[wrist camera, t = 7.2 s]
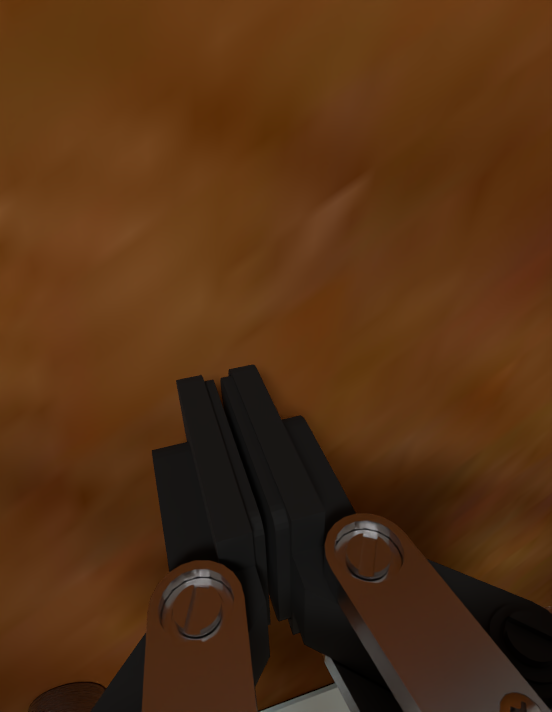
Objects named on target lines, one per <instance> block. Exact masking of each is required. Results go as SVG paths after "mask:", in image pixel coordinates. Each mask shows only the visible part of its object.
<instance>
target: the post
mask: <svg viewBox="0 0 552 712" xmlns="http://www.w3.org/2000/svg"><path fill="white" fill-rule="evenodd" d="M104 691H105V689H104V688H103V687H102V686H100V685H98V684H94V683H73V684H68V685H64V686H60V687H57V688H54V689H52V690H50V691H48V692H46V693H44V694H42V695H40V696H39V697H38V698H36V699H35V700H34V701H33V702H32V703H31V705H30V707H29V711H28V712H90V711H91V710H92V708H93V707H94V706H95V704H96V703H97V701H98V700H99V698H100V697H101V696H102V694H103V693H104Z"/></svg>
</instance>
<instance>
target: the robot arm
mask: <svg viewBox="0 0 552 712" xmlns="http://www.w3.org/2000/svg"><path fill="white" fill-rule="evenodd" d="M220 381H221V390H222V399H223V406H222V403H221V400H220V397H219V394H218V392H217V389H216V386H215V383H214V380H209V381H204V379H203V377H202V375H199V376H194V377H190V378H185V379H180V380H176V383H177V389H178V394H179V400H180V405H181V411H182V416H183V422H184V427H185V433H186V438H187V442H185V443H181V444H177V445H173V446H168V447H164V448H160V449H156V450H152V456H153V463H154V470H155V477H156V484H157V491H158V497H159V504H160V511H161V518H162V524H163V531H164V538H165V545H166V552H167V558H168V565H169V573H168V574H167V575H166V576H165V577H164V578H163V579H162V580H161V581H160V582H159V583H158V585H157V587H156V588H155V590H154V592H153V594H152V596H151V598H150V603H149V607H148V612H147V629H146V633H145V635H144V636H143V638H142V639H141V640H140V642H139V643H138V645H137V646H136V647H135V649H134V650H133V652H132V653H131V655H130V656H129V657H128V659H127V660H126V662H125V663H124V664H123V666H122V667H121V669H120V670H119V672H118V673H117V674H116V676H115V677H114V679H113V680H112V681H111V683H110V684H109V686H108V687H107V689H106V690H105V691H104V693H103V694H102V696H101V697H100V698H99V700H98V701H97V703H96V704H95V706H94V707H93V708H92V710H91V711H90V712H258V710H257V701H256V692H255V686H256V684H257V682H258V680H259V678H260V676H261V673H262V671H263V669H264V667H265V665H266V663H267V661H268V659H269V657H270V650H269V635H268V625H270V608H269V595H270V598H271V601H272V604H273V608H274V611H275V614H276V617H277V619H278V621H282V620H285V619H288V621H289V624H290V627H291V630H292V633H293V635H294V634H297V633H301V636H302V639H303V642H304V644H305V645H307V646H309V647H310V648H312V649H314V650H316V651H318V652H320V653H321V654H322V657H323V660H324V662H325V665H326V666H327V668H328V670H329V672H330V674H331V676H332V678H333V680H334V682H335V683H336V685H337V687H338V689H339V691H340V693H341V695H342V697H343V699H344V700H345V702H346V704H347V706H348V708H349V710H350V712H552V607H541V606H539V605H537V604H535V603H534V602H532V601H529V600H527V599H524V598H522V597H519V596H517V595H514V594H512V593H509V592H507V591H505V590H502V589H500V588H497V587H495V586H492V585H490V584H487V583H485V582H482V581H480V580H477V579H475V578H472V577H470V576H467V575H465V574H463V573H460V572H458V571H455V570H453V569H450V568H448V567H445V566H443V565H440V564H438V563H435V562H433V561H430V560H428V559H426V558H425V557H424V556H423V554H422V553H421V552H420V551H419V550H418V548H417V547H416V546H415V545H414V543H413V542H412V541H411V540H410V539H409V537H408V536H407V535H406V534H405V532H404V531H402V530H401V529H400V528H399V527H398V526H397V525H396V524H395V523H393V522H391V521H390V520H388V519H386V518H384V517H382V516H378V515H374V514H370V513H357V514H356V513H355V511H354V509H353V507H352V505H351V503H350V502H349V500H348V498H347V496H346V494H345V492H344V490H343V489H342V487H341V485H340V483H339V481H338V479H337V478H336V476H335V474H334V472H333V470H332V468H331V466H330V465H329V463H328V461H327V459H326V457H325V455H324V453H323V452H322V450H321V448H320V446H319V444H318V442H317V441H316V439H315V437H314V435H313V433H312V431H311V429H310V428H309V426H308V424H307V422H306V421H305V419H304V418H303V417H302V416H301V415H300V416H296V417H292V418H287V419H283V420H281V418H280V416H279V414H278V412H277V410H276V408H275V406H274V404H273V402H272V399H271V397H270V395H269V393H268V391H267V389H266V387H265V385H264V383H263V381H262V379H261V377H260V374H259V372H258V370H257V368H256V367H255V365H254V364H253V365H248V366H243V367H238V368H234V369H229V376H228V377H223V378H221V380H220ZM223 408H224V409H223ZM268 592H269V593H268Z"/></svg>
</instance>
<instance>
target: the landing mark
mask: <svg viewBox="0 0 552 712" xmlns="http://www.w3.org/2000/svg"><path fill="white" fill-rule="evenodd" d="M260 712H350V710H349V708H348V706H347V704H346V702H345V700H344V699H343V697H342V695H341V693H340V691H339V689H338V687H337V685H336V683H334V684H332V685H329V686H326V687H324V688H321V689H318V690H316V691H313V692H310V693H308V694H305V695H302V696H300V697H297V698H294V699H292V700H289V701H286V702H284V703H281V704H279V705H276V706H273V707H271V708H268V709H265V710H263V711H260Z"/></svg>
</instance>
